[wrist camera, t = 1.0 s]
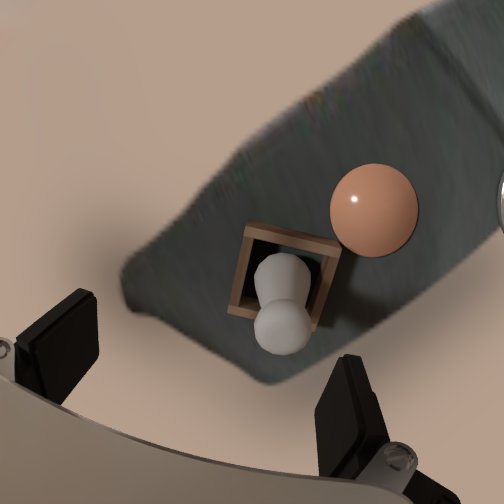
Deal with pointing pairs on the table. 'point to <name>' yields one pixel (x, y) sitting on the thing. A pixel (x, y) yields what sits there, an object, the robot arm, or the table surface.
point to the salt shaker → (282, 304)
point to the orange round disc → (373, 210)
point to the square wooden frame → (292, 239)
